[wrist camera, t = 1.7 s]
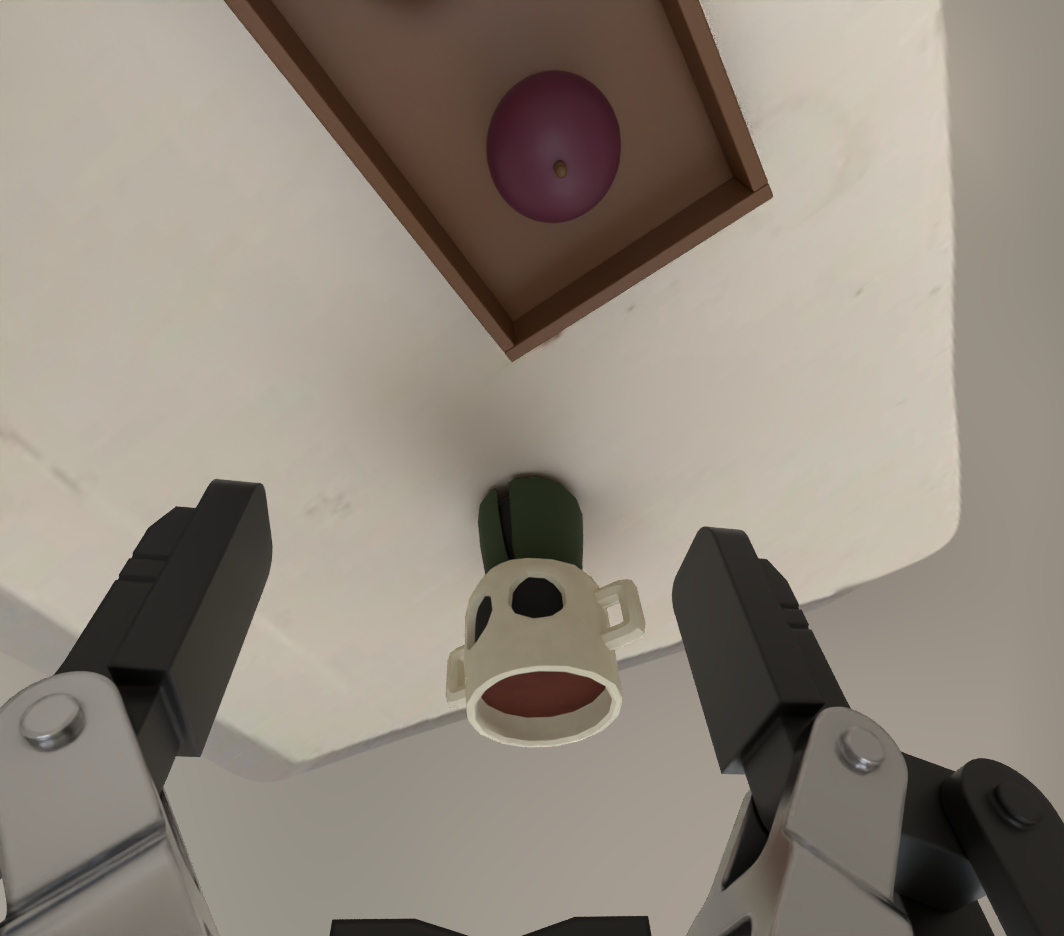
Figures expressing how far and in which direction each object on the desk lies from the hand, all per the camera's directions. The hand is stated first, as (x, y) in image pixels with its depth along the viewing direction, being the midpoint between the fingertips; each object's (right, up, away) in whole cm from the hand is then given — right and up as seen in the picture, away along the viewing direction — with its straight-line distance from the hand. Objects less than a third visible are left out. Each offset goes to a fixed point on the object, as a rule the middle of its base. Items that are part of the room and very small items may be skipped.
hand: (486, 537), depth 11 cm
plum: (+2, +14, +12) cm, 19 cm away
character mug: (+1, -1, +25) cm, 26 cm away
